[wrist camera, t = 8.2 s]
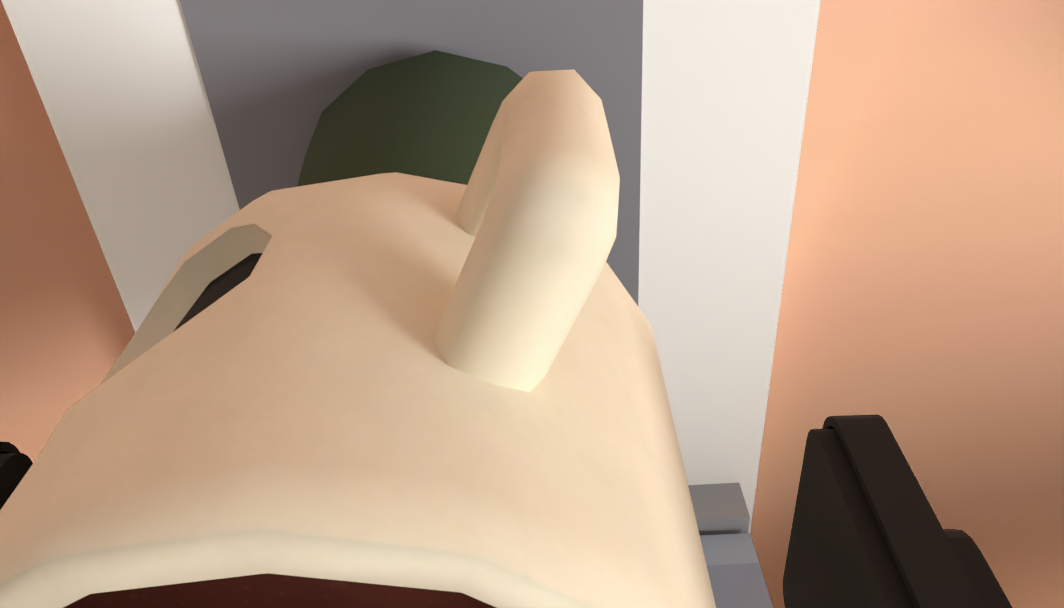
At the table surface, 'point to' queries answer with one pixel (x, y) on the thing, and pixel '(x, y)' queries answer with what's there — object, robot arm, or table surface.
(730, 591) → the cover
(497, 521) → the character mug
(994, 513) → the table surface
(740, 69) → the board
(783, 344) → the table surface
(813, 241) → the table surface
